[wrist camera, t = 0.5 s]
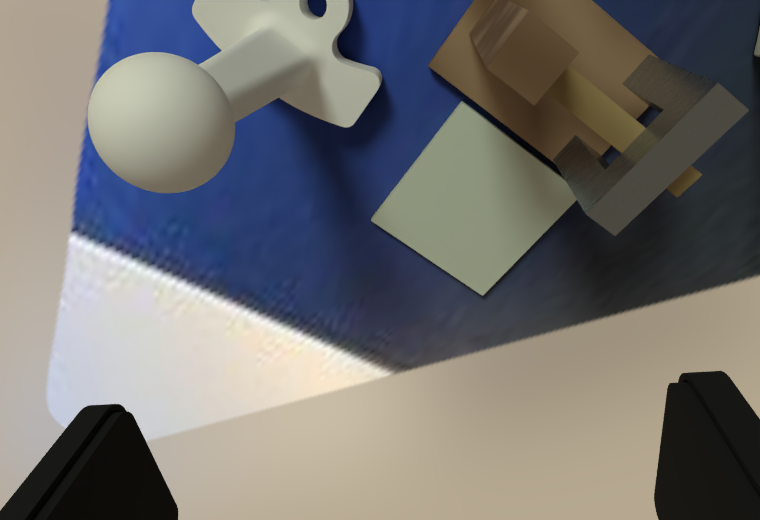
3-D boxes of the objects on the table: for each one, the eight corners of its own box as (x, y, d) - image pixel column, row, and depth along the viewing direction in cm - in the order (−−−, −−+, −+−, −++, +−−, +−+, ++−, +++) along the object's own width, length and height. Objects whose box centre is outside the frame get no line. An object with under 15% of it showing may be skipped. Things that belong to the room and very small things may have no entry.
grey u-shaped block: (648, 54, 28) (718, 82, 21) (673, 75, 28) (749, 110, 21) (552, 159, 31) (585, 214, 24) (575, 177, 31) (615, 236, 24)
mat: (462, 100, 34) (462, 102, 33) (580, 190, 36) (582, 194, 35) (371, 217, 38) (370, 220, 38) (481, 291, 40) (482, 296, 40)
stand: (518, -62, 29) (570, -80, 18) (675, 75, 32) (808, 135, 20) (428, 64, 33) (424, 115, 21) (576, 178, 35) (643, 278, 24)
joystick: (196, 24, 33) (-74, 89, 15) (256, -96, 30) (-3, -186, 12) (345, 133, 35) (257, 296, 18) (416, 33, 32) (392, 112, 15)
